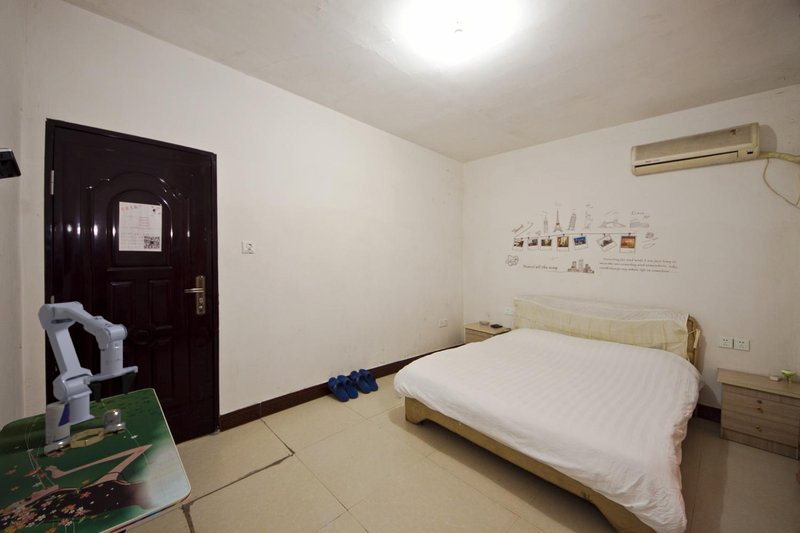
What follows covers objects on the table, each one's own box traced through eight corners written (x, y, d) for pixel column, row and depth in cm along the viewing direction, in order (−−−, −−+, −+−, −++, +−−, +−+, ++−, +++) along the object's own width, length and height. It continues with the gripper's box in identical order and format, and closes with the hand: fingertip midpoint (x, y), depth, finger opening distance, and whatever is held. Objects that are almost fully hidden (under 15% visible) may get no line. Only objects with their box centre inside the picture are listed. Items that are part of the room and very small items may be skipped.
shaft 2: (105, 437, 104) (105, 429, 104) (105, 433, 106) (105, 425, 106) (125, 431, 107) (125, 423, 107) (124, 427, 110) (124, 420, 110)
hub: (100, 427, 110) (100, 411, 110) (117, 421, 114) (117, 406, 114) (106, 430, 108) (106, 414, 108) (122, 424, 112) (122, 409, 112)
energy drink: (74, 436, 104) (74, 400, 104) (55, 445, 99) (55, 407, 99) (60, 435, 105) (60, 399, 105) (40, 444, 99) (40, 407, 99)
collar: (62, 443, 100) (62, 438, 100) (99, 430, 108) (99, 425, 108) (73, 450, 96) (73, 445, 96) (110, 436, 104) (110, 432, 104)
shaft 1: (66, 445, 99) (66, 436, 99) (70, 448, 97) (70, 439, 97) (43, 453, 94) (43, 444, 94) (47, 456, 93) (47, 447, 93)
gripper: (89, 367, 103) (89, 408, 103) (141, 356, 116) (142, 392, 116) (80, 364, 106) (80, 404, 106) (132, 353, 119) (132, 389, 119)
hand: (112, 397), depth 111 cm, fingers open, 7 cm apart
